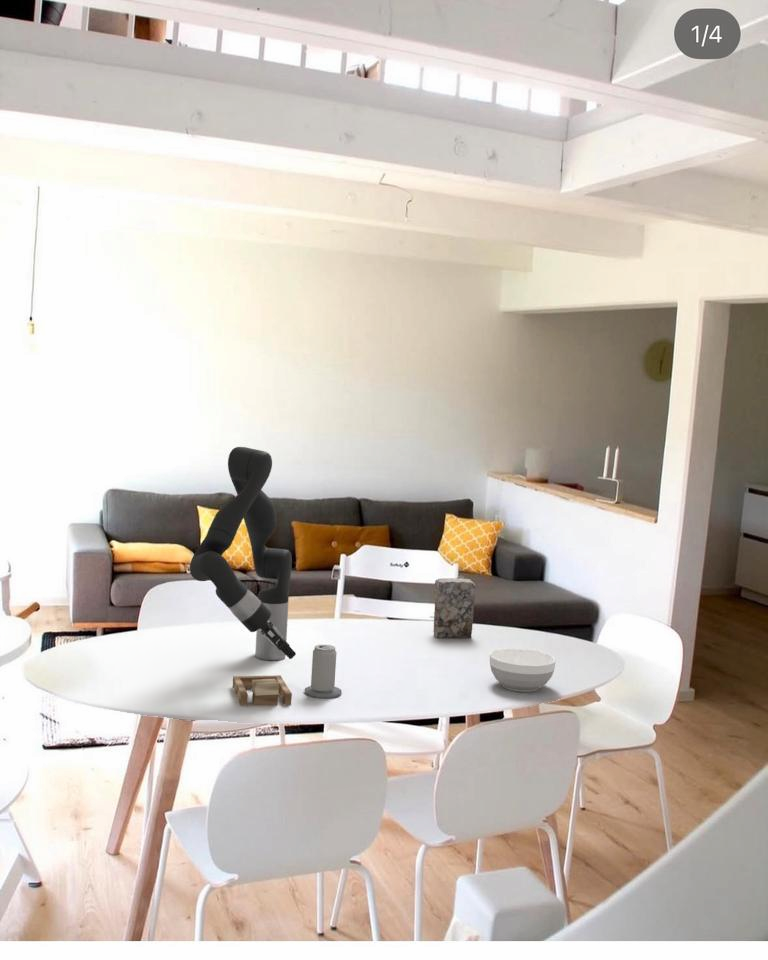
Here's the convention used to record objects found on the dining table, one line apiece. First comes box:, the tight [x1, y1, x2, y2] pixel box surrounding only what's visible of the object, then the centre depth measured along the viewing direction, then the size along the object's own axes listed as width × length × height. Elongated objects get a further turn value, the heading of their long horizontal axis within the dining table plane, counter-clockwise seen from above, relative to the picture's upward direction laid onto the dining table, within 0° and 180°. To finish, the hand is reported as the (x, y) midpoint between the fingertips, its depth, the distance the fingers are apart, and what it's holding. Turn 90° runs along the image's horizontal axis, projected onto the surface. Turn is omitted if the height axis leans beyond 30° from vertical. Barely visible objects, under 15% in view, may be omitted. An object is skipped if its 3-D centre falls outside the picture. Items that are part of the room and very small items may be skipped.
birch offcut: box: [251, 679, 279, 696], centre depth 265 cm, size 4×6×3 cm, turn 113°
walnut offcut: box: [251, 692, 279, 707], centre depth 265 cm, size 4×6×3 cm, turn 105°
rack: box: [232, 674, 293, 707], centre depth 271 cm, size 17×13×3 cm
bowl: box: [489, 648, 557, 693], centre depth 294 cm, size 19×19×9 cm
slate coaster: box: [304, 685, 343, 700], centre depth 277 cm, size 10×10×1 cm
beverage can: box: [310, 644, 337, 693], centre depth 276 cm, size 6×6×12 cm
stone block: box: [433, 577, 477, 639], centre depth 351 cm, size 13×7×20 cm, turn 109°
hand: (290, 652), depth 273 cm, fingers open, 8 cm apart
